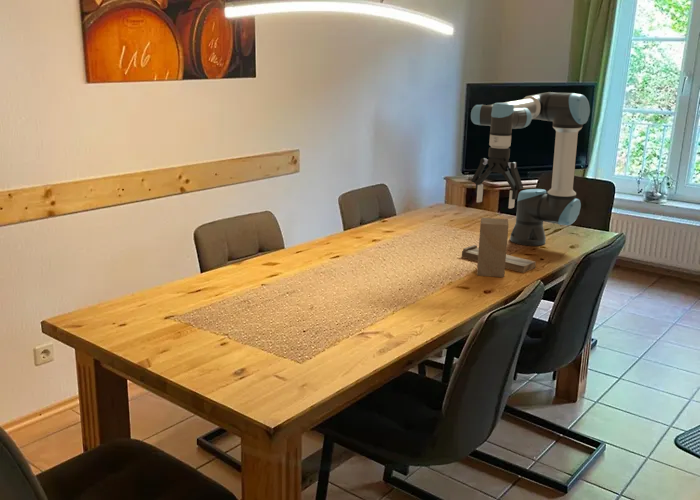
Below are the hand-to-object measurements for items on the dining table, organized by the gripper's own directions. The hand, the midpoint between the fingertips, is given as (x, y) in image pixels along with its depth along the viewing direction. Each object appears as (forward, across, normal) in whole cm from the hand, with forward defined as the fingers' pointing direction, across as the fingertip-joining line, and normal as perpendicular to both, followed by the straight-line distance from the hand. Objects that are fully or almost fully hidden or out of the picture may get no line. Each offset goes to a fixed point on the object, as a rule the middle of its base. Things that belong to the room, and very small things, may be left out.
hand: (494, 205), depth 253 cm
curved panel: (+26, -5, +14) cm, 30 cm away
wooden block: (+26, 0, 0) cm, 26 cm away
